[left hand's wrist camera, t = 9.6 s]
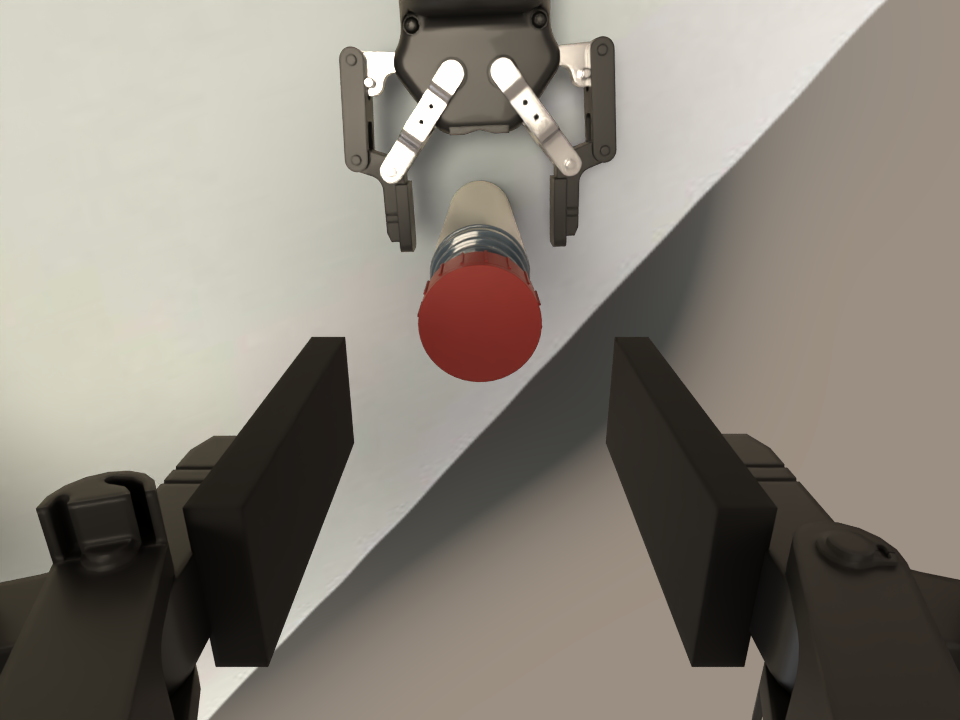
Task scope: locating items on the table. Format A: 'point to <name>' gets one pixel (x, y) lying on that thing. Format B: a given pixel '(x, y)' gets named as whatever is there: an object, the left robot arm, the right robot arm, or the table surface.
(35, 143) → the table surface
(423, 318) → the cap
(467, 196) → the bottle
